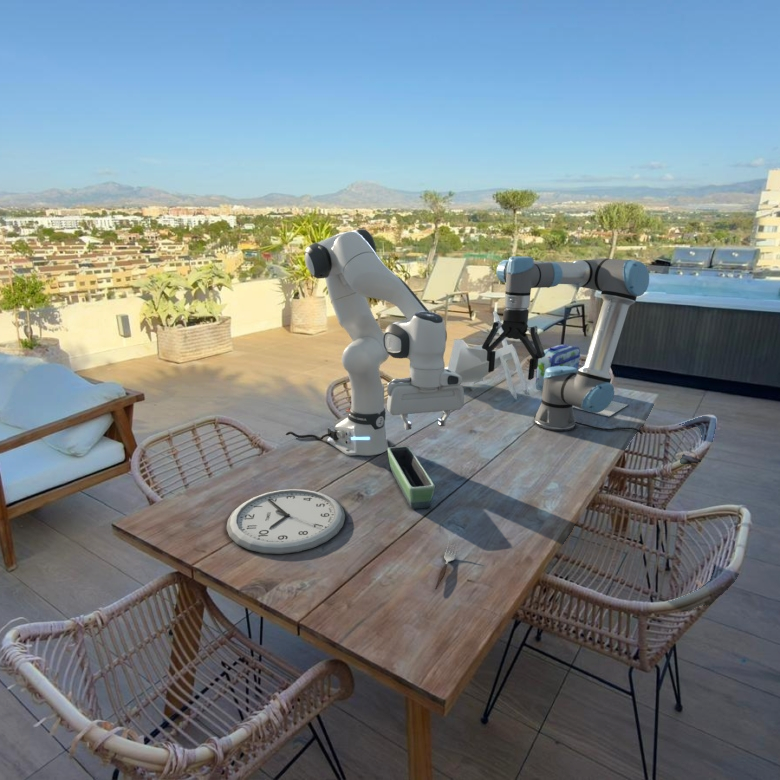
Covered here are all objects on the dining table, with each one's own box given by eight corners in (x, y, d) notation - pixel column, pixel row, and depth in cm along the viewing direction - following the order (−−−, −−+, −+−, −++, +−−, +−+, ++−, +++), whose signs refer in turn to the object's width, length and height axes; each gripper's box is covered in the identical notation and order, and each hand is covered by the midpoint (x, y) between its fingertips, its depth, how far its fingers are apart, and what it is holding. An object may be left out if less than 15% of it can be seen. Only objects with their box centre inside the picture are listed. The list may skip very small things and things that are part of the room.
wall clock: (345, 545, 122) (213, 550, 119) (345, 551, 122) (214, 556, 120) (344, 484, 150) (238, 487, 148) (345, 490, 151) (239, 492, 148)
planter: (386, 468, 165) (386, 447, 163) (408, 466, 167) (408, 445, 165) (409, 512, 140) (409, 488, 138) (434, 510, 141) (436, 486, 139)
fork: (429, 589, 110) (429, 581, 109) (447, 548, 124) (448, 541, 124) (441, 592, 109) (441, 584, 108) (458, 550, 123) (459, 543, 123)
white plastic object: (461, 429, 252) (437, 405, 227) (444, 352, 274) (420, 323, 250) (535, 404, 240) (518, 377, 215) (510, 326, 262) (492, 293, 237)
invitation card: (608, 416, 214) (573, 407, 224) (608, 416, 214) (573, 408, 224) (628, 404, 229) (594, 396, 238) (628, 405, 229) (594, 397, 238)
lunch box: (552, 397, 237) (557, 352, 231) (531, 392, 245) (535, 348, 238) (579, 386, 255) (584, 344, 249) (558, 381, 262) (563, 340, 256)
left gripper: (391, 382, 127) (390, 435, 131) (468, 377, 133) (465, 428, 137) (384, 375, 133) (383, 426, 137) (458, 371, 139) (455, 419, 143)
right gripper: (474, 305, 165) (470, 370, 171) (551, 314, 151) (543, 384, 157) (485, 303, 170) (480, 366, 177) (560, 311, 156) (552, 379, 163)
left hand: (424, 427), depth 137 cm, fingers open, 8 cm apart
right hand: (510, 375), depth 167 cm, fingers open, 13 cm apart
